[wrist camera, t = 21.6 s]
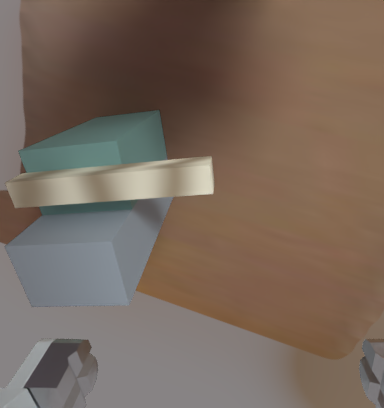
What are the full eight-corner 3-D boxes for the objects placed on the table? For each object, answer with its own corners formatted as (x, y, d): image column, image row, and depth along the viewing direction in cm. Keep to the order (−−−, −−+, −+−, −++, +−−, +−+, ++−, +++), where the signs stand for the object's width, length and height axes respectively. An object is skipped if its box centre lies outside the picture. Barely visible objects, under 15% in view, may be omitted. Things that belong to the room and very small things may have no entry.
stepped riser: (159, 110, 45) (89, 160, 22) (173, 196, 50) (129, 305, 28) (96, 117, 46) (-30, 171, 24) (117, 200, 52) (31, 306, 29)
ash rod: (211, 156, 27) (210, 164, 25) (214, 182, 28) (213, 193, 26) (22, 173, 30) (4, 182, 28) (31, 197, 31) (15, 208, 29)
